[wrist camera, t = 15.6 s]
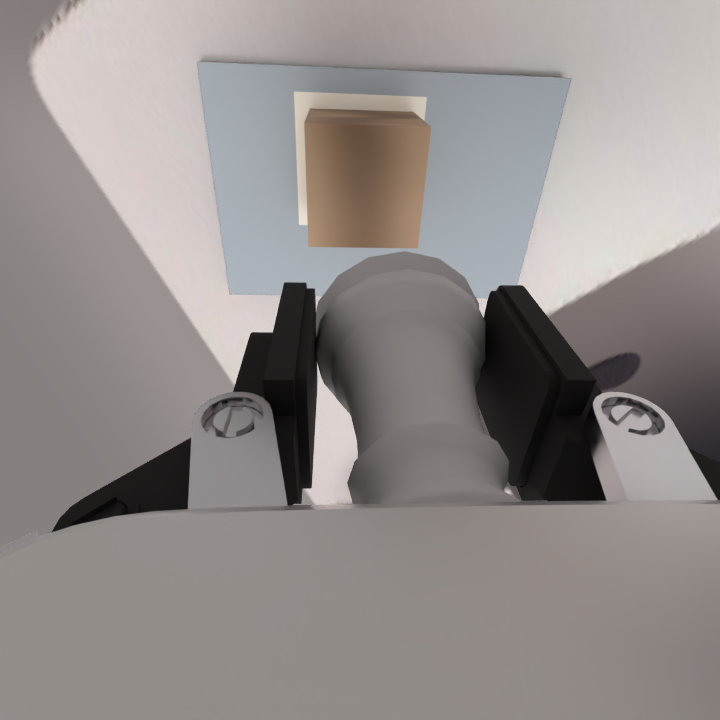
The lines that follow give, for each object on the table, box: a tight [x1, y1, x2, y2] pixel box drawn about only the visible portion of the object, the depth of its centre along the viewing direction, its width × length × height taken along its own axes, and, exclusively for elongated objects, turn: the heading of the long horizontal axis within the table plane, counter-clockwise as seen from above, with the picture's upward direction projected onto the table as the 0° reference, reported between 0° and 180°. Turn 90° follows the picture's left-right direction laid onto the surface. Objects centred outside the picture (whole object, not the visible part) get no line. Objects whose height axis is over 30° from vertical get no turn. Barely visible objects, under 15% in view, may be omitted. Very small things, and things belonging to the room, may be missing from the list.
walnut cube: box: [304, 108, 431, 249], centre depth 25 cm, size 6×6×6 cm
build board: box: [197, 61, 571, 298], centre depth 29 cm, size 21×14×1 cm, turn 88°
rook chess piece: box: [315, 251, 522, 504], centre depth 9 cm, size 4×4×8 cm
